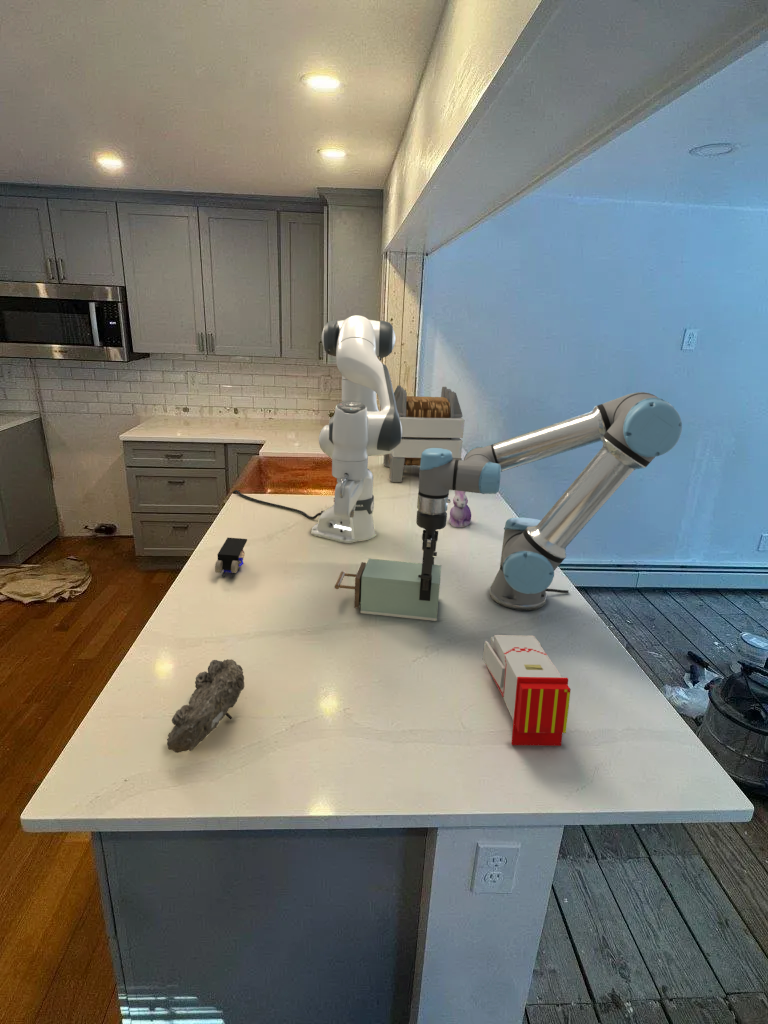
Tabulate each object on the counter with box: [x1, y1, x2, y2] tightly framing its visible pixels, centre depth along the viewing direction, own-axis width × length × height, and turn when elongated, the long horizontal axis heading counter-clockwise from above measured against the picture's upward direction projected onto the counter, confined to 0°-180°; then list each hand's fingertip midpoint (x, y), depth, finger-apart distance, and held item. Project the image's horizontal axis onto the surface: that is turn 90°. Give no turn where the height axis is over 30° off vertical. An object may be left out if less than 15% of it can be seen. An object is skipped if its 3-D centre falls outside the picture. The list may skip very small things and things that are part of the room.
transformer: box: [383, 384, 465, 483], centre depth 268 cm, size 34×33×41 cm
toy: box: [482, 634, 572, 747], centre depth 115 cm, size 12×13×30 cm
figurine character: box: [214, 537, 248, 578], centre depth 166 cm, size 7×8×15 cm
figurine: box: [448, 490, 472, 528], centre depth 209 cm, size 9×10×15 cm
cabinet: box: [360, 558, 442, 622], centre depth 150 cm, size 20×11×11 cm, turn 82°
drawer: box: [334, 561, 367, 609], centre depth 150 cm, size 24×10×8 cm, turn 82°
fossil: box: [166, 658, 245, 754], centre depth 106 cm, size 22×10×15 cm
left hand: (348, 520), depth 145 cm, fingers open, 5 cm apart
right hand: (426, 589), depth 149 cm, fingers closed on cabinet, 11 cm apart
